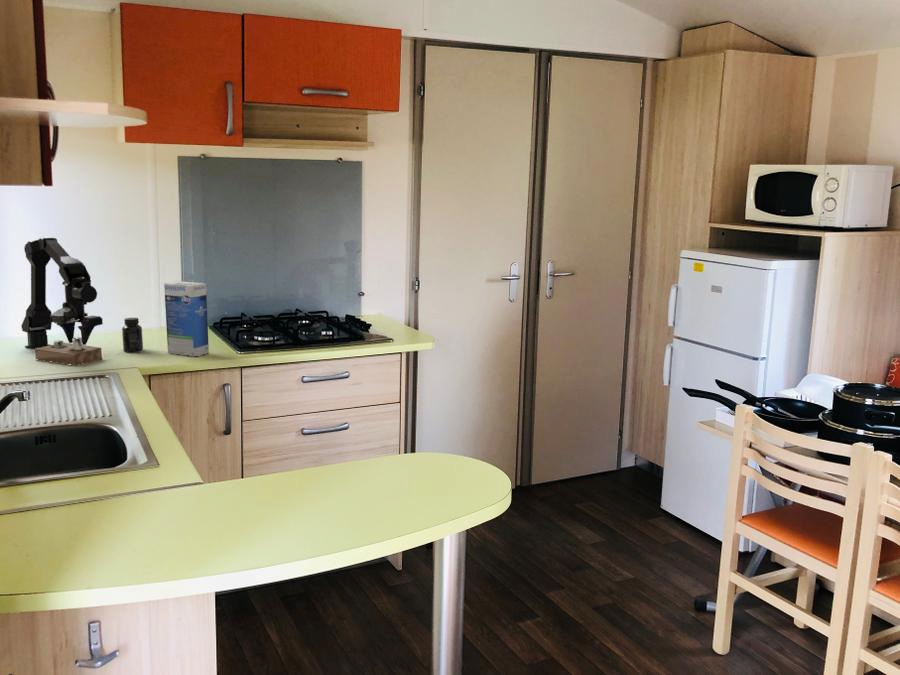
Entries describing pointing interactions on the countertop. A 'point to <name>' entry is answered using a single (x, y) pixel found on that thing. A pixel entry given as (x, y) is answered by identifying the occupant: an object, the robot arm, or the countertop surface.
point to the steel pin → (77, 344)
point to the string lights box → (186, 318)
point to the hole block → (68, 354)
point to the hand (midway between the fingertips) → (77, 343)
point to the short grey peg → (58, 344)
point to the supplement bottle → (132, 335)
